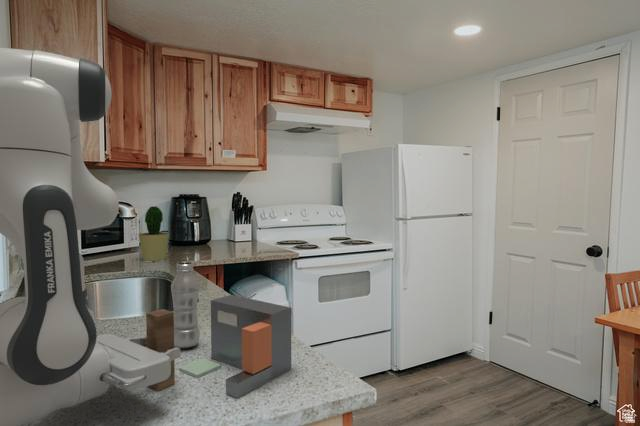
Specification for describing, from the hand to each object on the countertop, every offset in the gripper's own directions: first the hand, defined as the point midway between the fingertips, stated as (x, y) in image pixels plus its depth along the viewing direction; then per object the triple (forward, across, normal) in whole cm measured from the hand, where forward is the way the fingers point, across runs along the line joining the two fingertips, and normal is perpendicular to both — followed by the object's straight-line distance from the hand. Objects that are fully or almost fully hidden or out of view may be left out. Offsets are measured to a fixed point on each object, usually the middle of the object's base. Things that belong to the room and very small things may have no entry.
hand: (163, 345), depth 78 cm
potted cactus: (+81, +132, +8) cm, 155 cm away
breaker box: (+12, -7, +7) cm, 15 cm away
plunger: (+11, -14, +5) cm, 18 cm away
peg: (-1, 0, +8) cm, 8 cm away
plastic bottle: (+14, +13, +8) cm, 21 cm away
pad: (+8, 0, +8) cm, 11 cm away
